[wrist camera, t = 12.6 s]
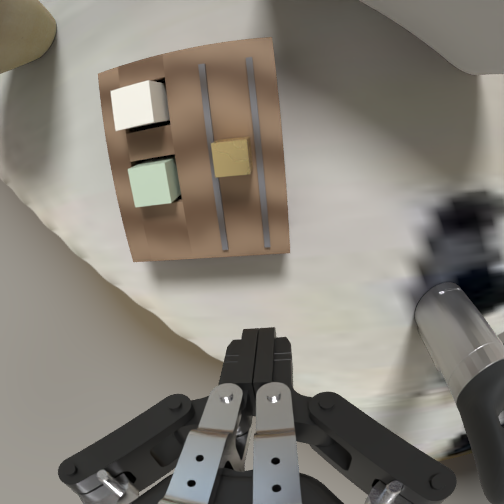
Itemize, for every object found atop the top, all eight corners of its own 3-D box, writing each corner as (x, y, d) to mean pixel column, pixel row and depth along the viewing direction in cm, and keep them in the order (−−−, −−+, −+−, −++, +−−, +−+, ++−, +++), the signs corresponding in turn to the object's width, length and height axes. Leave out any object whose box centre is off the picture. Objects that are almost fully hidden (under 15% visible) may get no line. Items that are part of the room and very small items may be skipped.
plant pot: (94, 21, 26) (12, -3, 12) (31, 102, 31) (-52, 116, 16) (53, -22, 22) (-17, -43, 7) (-2, 51, 26) (-73, 54, 12)
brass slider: (252, 167, 28) (250, 174, 25) (221, 170, 29) (215, 177, 25) (249, 136, 27) (246, 139, 24) (218, 139, 27) (210, 143, 24)
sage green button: (185, 189, 33) (171, 202, 28) (152, 194, 33) (135, 207, 29) (179, 155, 31) (164, 162, 27) (146, 160, 32) (127, 169, 27)
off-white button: (171, 120, 28) (154, 122, 24) (137, 127, 29) (115, 131, 24) (167, 84, 27) (148, 80, 22) (132, 92, 27) (110, 91, 23)
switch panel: (287, 231, 37) (290, 254, 32) (151, 241, 39) (132, 263, 34) (272, 49, 28) (271, 36, 22) (122, 77, 30) (95, 73, 24)
